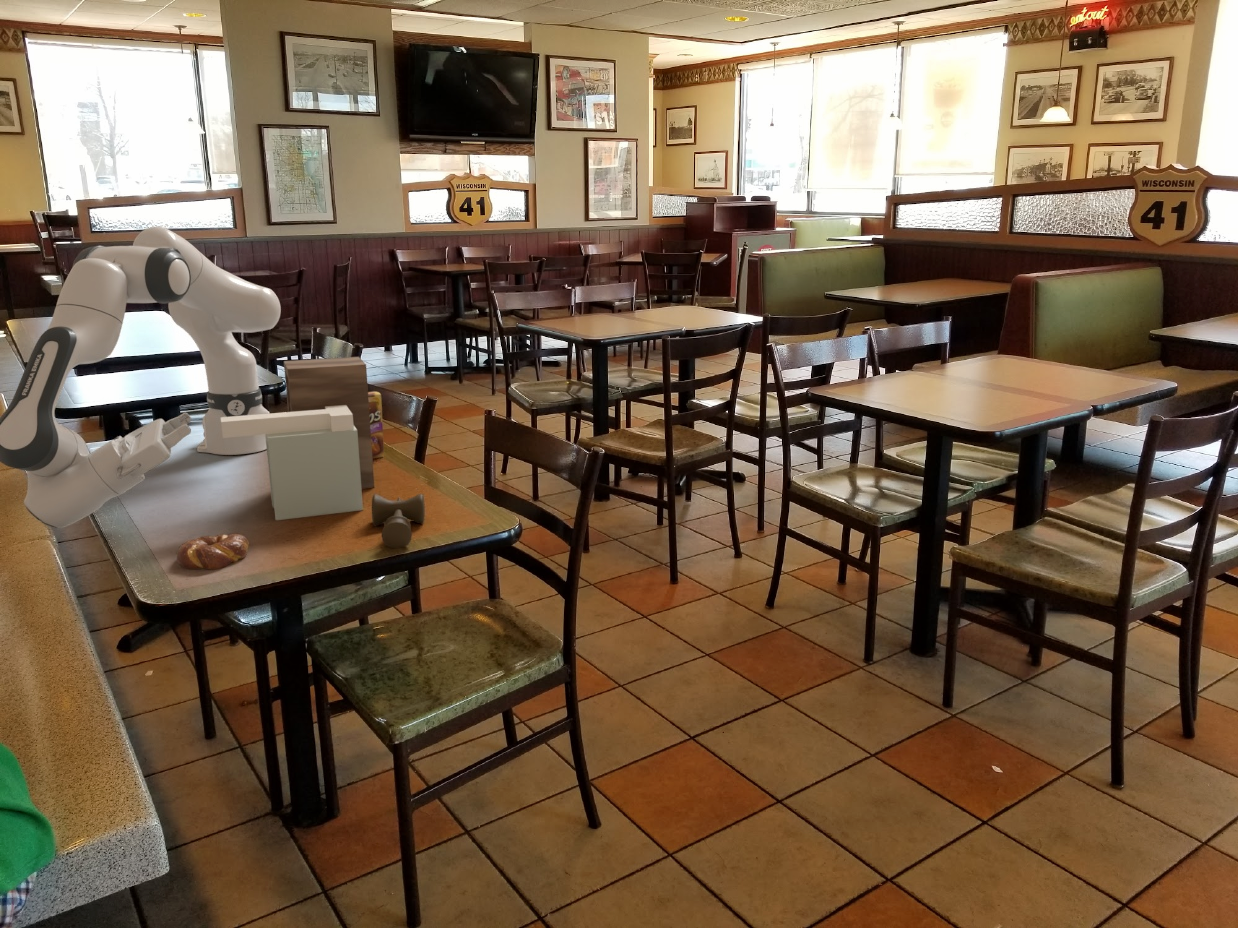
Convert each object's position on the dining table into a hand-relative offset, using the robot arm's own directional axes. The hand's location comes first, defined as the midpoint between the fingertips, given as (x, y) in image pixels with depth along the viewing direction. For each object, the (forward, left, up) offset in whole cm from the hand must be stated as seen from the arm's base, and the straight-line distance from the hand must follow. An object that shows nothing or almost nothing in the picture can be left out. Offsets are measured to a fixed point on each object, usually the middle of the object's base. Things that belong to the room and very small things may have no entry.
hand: (189, 421), depth 171 cm
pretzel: (+21, +2, -20) cm, 29 cm away
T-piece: (0, +16, -3) cm, 17 cm away
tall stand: (-14, +26, -19) cm, 35 cm away
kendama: (+18, +33, -20) cm, 43 cm away
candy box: (-33, +35, -19) cm, 52 cm away
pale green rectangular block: (0, +21, -19) cm, 28 cm away
